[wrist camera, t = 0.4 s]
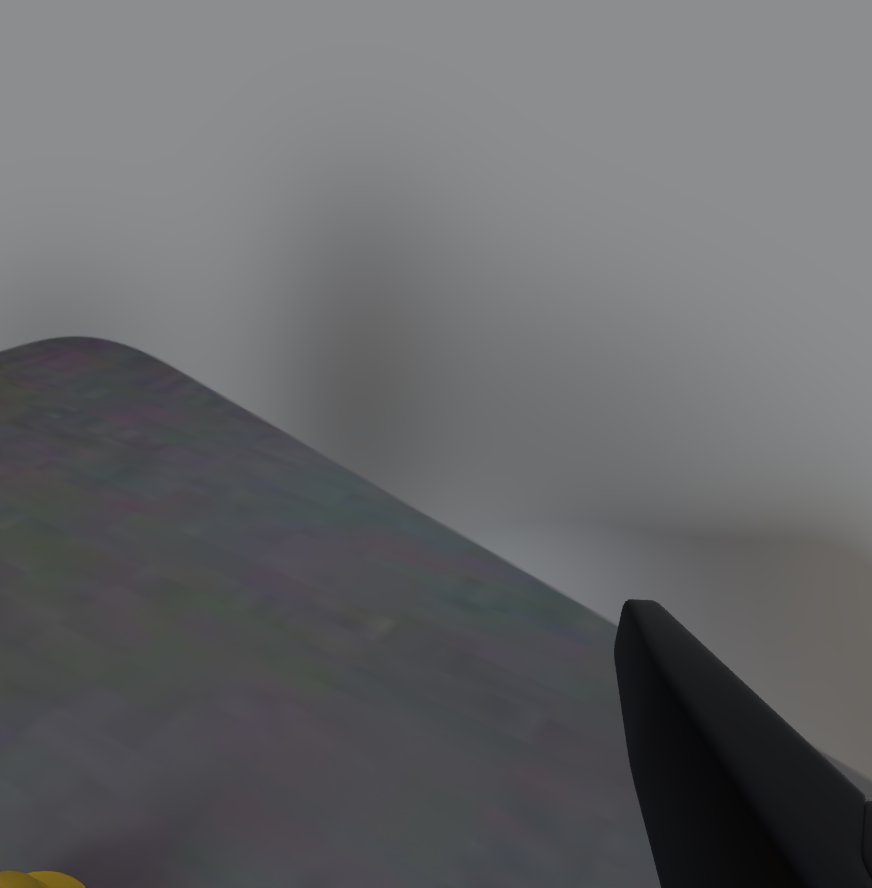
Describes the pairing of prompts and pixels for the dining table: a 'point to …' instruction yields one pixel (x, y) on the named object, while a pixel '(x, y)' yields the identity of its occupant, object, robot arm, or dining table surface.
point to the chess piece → (37, 880)
